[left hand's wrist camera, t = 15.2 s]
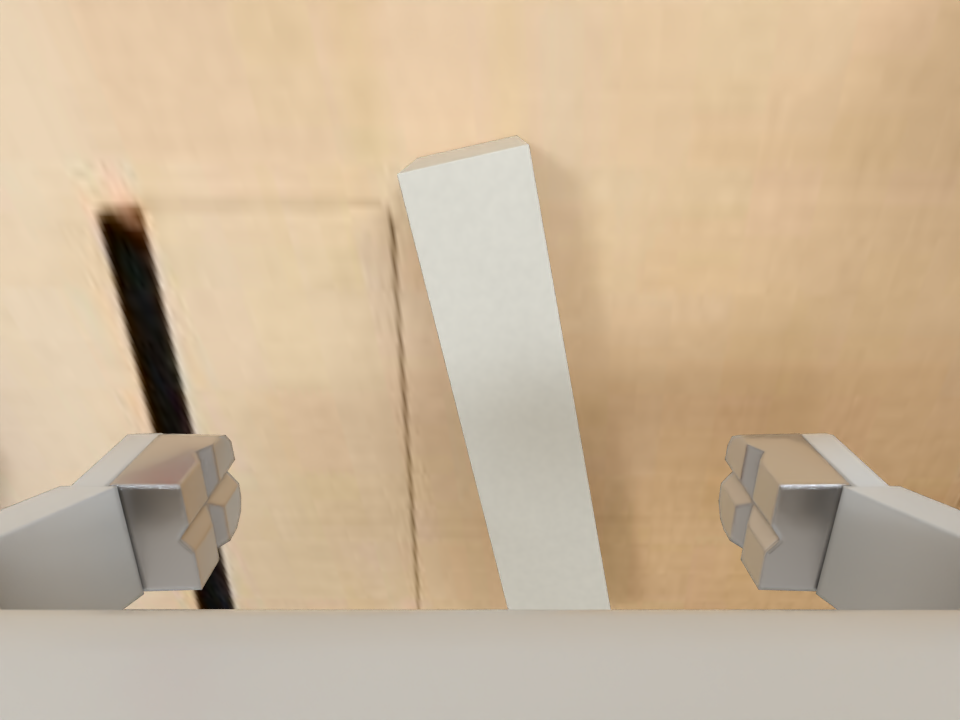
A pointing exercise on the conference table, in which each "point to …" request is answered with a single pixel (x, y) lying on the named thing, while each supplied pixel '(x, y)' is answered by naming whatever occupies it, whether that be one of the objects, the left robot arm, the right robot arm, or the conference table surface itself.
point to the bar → (508, 368)
